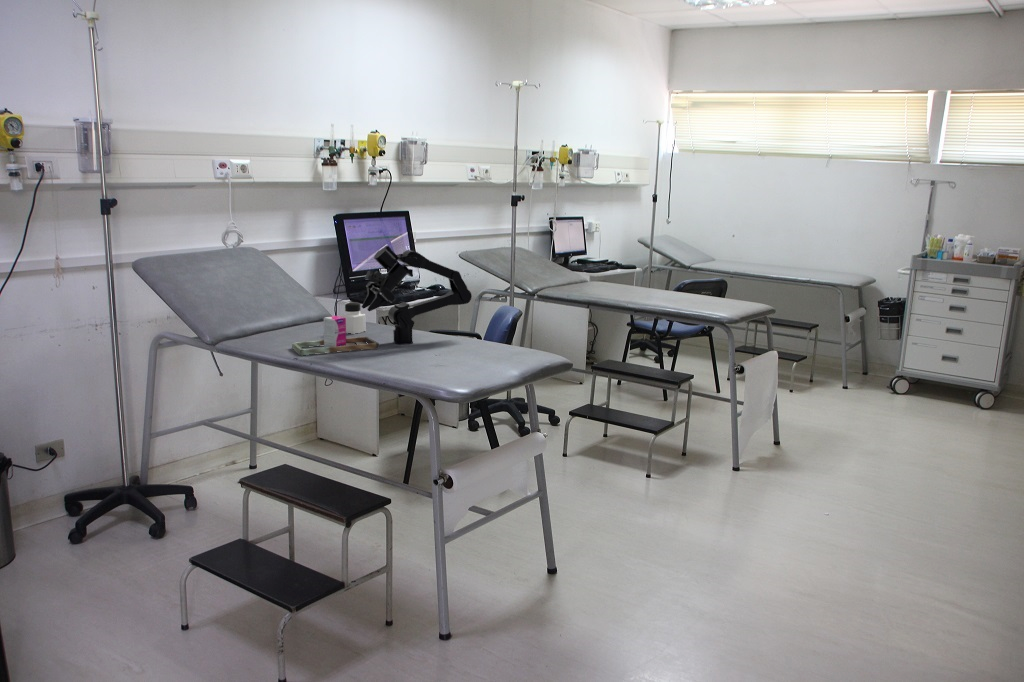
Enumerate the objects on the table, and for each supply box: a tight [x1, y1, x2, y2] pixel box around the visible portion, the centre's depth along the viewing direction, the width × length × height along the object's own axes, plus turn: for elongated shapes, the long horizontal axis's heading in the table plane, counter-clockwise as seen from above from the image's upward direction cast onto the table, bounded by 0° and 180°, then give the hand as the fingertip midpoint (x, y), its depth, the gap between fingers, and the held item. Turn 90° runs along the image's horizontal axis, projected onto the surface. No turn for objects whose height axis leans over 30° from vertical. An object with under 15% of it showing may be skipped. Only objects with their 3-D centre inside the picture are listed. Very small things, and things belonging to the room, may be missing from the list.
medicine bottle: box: [339, 301, 367, 335], centre depth 324 cm, size 7×7×12 cm
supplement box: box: [323, 315, 347, 348], centre depth 293 cm, size 6×6×12 cm
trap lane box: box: [291, 336, 380, 357], centre depth 294 cm, size 28×14×2 cm, turn 117°
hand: (365, 309), depth 297 cm, fingers open, 7 cm apart
